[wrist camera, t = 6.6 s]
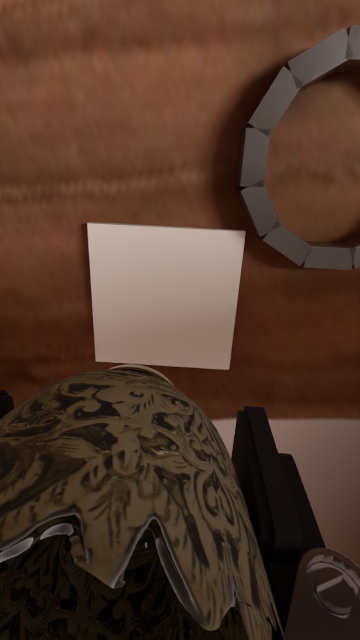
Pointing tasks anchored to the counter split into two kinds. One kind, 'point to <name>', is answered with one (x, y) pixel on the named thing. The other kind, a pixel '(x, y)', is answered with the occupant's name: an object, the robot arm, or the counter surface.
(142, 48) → the counter surface
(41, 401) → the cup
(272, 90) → the stone ring
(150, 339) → the stone coaster
